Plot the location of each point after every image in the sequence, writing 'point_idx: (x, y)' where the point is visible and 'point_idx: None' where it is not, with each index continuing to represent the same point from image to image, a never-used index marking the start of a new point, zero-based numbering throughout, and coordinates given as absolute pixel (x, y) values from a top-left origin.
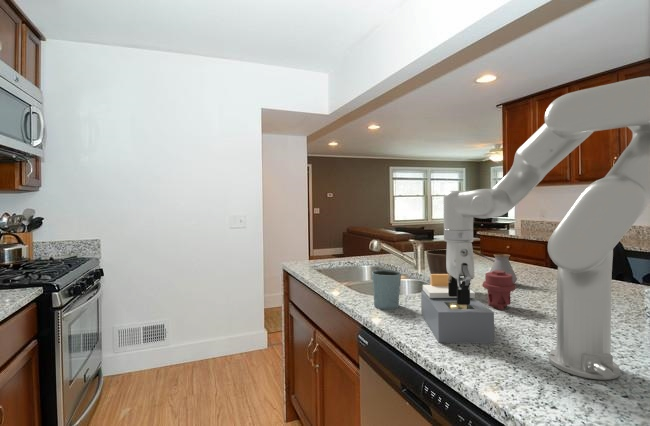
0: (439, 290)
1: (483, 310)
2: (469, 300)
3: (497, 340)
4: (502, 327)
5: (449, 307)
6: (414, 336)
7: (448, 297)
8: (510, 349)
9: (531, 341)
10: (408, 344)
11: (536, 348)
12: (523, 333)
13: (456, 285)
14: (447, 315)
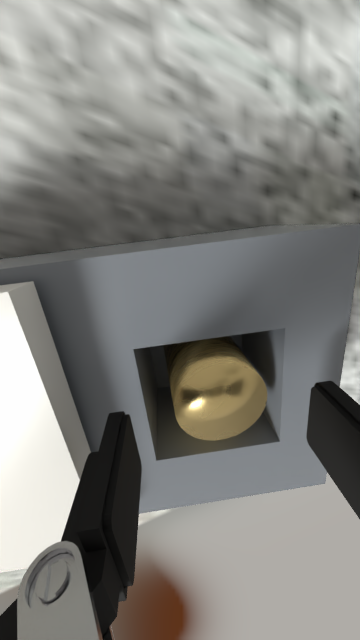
0: (25, 517)
1: (316, 283)
2: (348, 398)
3: (241, 202)
4: (70, 117)
5: (152, 414)
6: None
7: (87, 447)
8: (325, 177)
9: (245, 25)
10: None
11: (323, 42)
12: (139, 18)
13: (121, 519)
14: None
